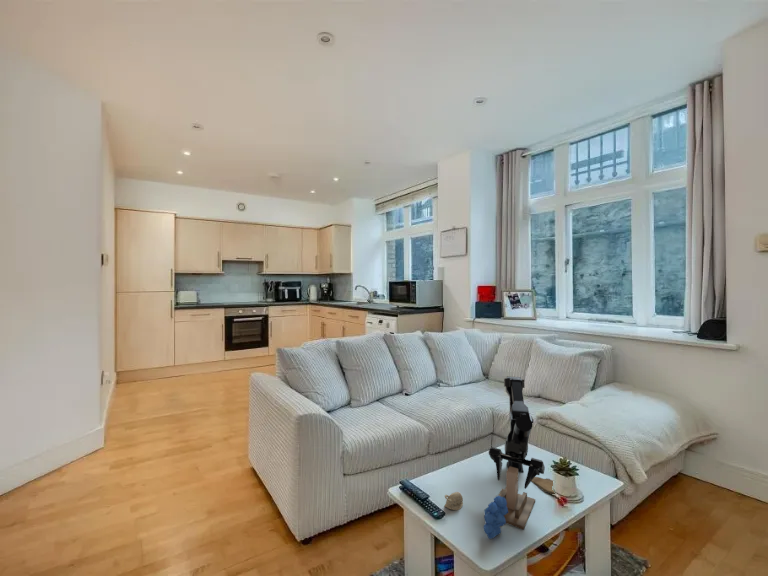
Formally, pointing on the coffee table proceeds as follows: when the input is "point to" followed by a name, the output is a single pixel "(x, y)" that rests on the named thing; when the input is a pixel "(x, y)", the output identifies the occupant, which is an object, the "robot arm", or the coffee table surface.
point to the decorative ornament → (454, 501)
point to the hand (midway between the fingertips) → (511, 484)
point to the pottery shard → (544, 484)
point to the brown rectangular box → (512, 488)
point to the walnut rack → (519, 510)
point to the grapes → (495, 516)
